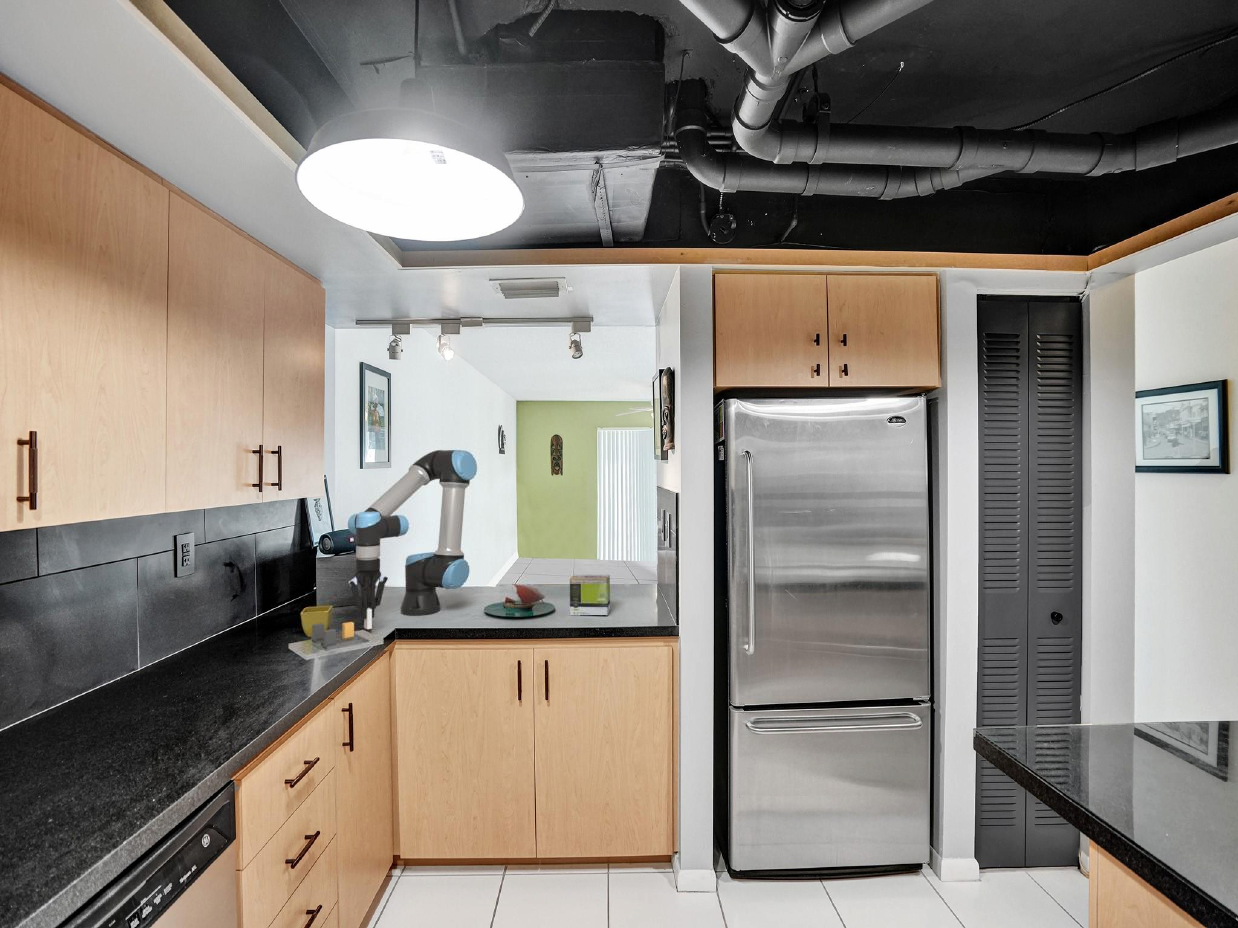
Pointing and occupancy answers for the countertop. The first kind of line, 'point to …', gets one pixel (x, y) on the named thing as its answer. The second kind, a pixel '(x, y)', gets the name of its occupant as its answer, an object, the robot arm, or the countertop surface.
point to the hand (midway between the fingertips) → (367, 627)
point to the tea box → (589, 594)
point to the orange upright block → (347, 630)
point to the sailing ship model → (521, 604)
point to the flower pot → (315, 618)
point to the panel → (317, 649)
